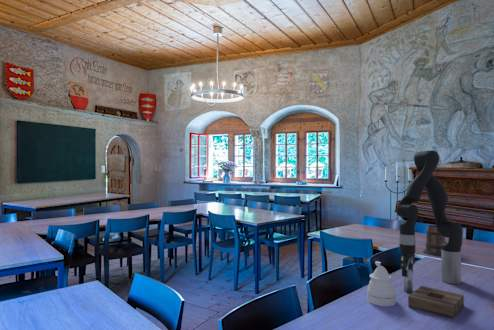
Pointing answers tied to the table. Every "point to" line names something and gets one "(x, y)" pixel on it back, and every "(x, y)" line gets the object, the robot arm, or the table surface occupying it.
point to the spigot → (408, 282)
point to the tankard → (433, 241)
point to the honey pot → (381, 287)
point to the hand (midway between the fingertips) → (407, 274)
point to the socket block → (436, 301)
